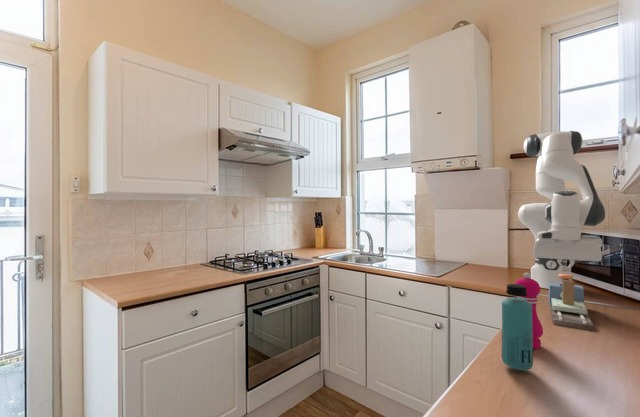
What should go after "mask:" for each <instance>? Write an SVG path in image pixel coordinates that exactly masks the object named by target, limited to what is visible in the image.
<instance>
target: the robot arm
mask: <svg viewBox="0 0 640 417" xmlns="http://www.w3.org/2000/svg"><path fill="white" fill-rule="evenodd" d="M583 142H584V140H583V137H582V134H581V132H579V131H576V130H575V131H574V130H569V131H552V132H551V131H550V132H544V133H538V134H536V133H535V134H531V135H528V136H527V137H526V138H525V140H524V142H523V151H524V152H525V155H526V156H527V157H532V158H535V157H538V158H537V160H536V166H535V191H536V192H537V194H539V195H540V196H542V197H545V198H547V199H549V200H550V201H549V202H534V203H527V204H522V205H521V206H520V208H519V209H518V211H517V216H518V217H517V218H518V220H519V222H520V223H521V224H523V225H524V226H525V227H527V228H528V229H529V230H530V231H531V233H532V234H533V236H534V239H535V240H534V246H533V252H532V253H533V254H532V255H533V257H534V263H535V264H533V266H531V268H530V275H531V278H530V279H533V280H535V281H536V282H538V284H539V286H540V289H541V288H542V289H547V290H549V282H550V283H560V284H562V278H559V277H558V274H569V275H572V268H573V266H574V265H575V262H576V261H583V262H601V260H602V259H603V257H602V255H603V254H602V249H601V248H602V247H603V239H602V238H601V237H599V236H597V235H588V234H582V226H587V227H588V226H589V227H596V226H598V225H599V224H601V223H602V222H603V221H604V220H605V219H606V210H605V206H604V205H603V202H602V200H601V199H600V198H599V195H598V193H597V190H596V188H595V185H594V182H593V179H592V177H591V176H590V173H589V170H588V169H587V167H586V165H584V164H581V163H579V162H578V161H577V160H576V158H575V156H574V155H576V154H577V153H579V152H580V150H581V148H582V146H583ZM565 180H566V181H569V182H572V183H574V184H575V185H577V186H578V189H579V192H580V194H581V197H582V200H581V199H580V194H579V193H578V192H576V191H571V190H566V183H565ZM549 228H550V229H549ZM568 262H569V265H567V263H568ZM570 280H571V281H572V279H570Z"/></svg>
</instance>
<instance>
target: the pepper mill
mask: <svg viewBox="0 0 640 417" xmlns="http://www.w3.org/2000/svg"><path fill="white" fill-rule="evenodd" d="M522 275H523V277H521V278H518V279H517V280H516V281H515V283H514V284H518V285H523V286H525V287H526V291H527V296H516V298H522V299H525V300H527V301H528V302H529V303H530V304H531V305H532V323H533V350H539V349H541V347H542V345H541V344H542V341H541V339H540V338H541V337H542V336H543V334H544V328H543V325H542V323H541V320H540V319H539V316H538V313H537V303H539V297H538V295H539V294H540V293H541V287H540V286H539V284H538V282H536V281H535V280H533V279H531V273H530V272H524V273H523V274H522Z"/></svg>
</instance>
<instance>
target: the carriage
mask: <svg viewBox="0 0 640 417" xmlns="http://www.w3.org/2000/svg"><path fill="white" fill-rule="evenodd" d="M574 285H575V281H574V280H572V279H571V280H563V299H555V298H551V302H552V306H553V310H559V311H566V312H573V313H580V314H588V309H587V307H586V306H585V302H584V303H583V302H579V301H574Z"/></svg>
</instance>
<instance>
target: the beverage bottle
mask: <svg viewBox="0 0 640 417" xmlns="http://www.w3.org/2000/svg"><path fill="white" fill-rule="evenodd" d="M506 294H507V295H509V296H510V297H509V296H508V297H506V298H504V299H503V300H502V301H501V338H500V340H501V341H500V343H501V344H500V345H501V353H500V354H501V360H502V362H503V363H504V365H506V366H508V367H510V368H512V369H515V370H520V371H521V370H522V371H528V370H531V369H533V366H534V363H535V361H534V358H535V357H534V356H535V355H534V349H533V323H532V305H531V304H530V303H529V302H528V301H527V300H525V299H522V298H517V296H527V291H526V287H525V286H523V285H518V284H515V283H509V284H507V285H506ZM511 296H513V297H511Z"/></svg>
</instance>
